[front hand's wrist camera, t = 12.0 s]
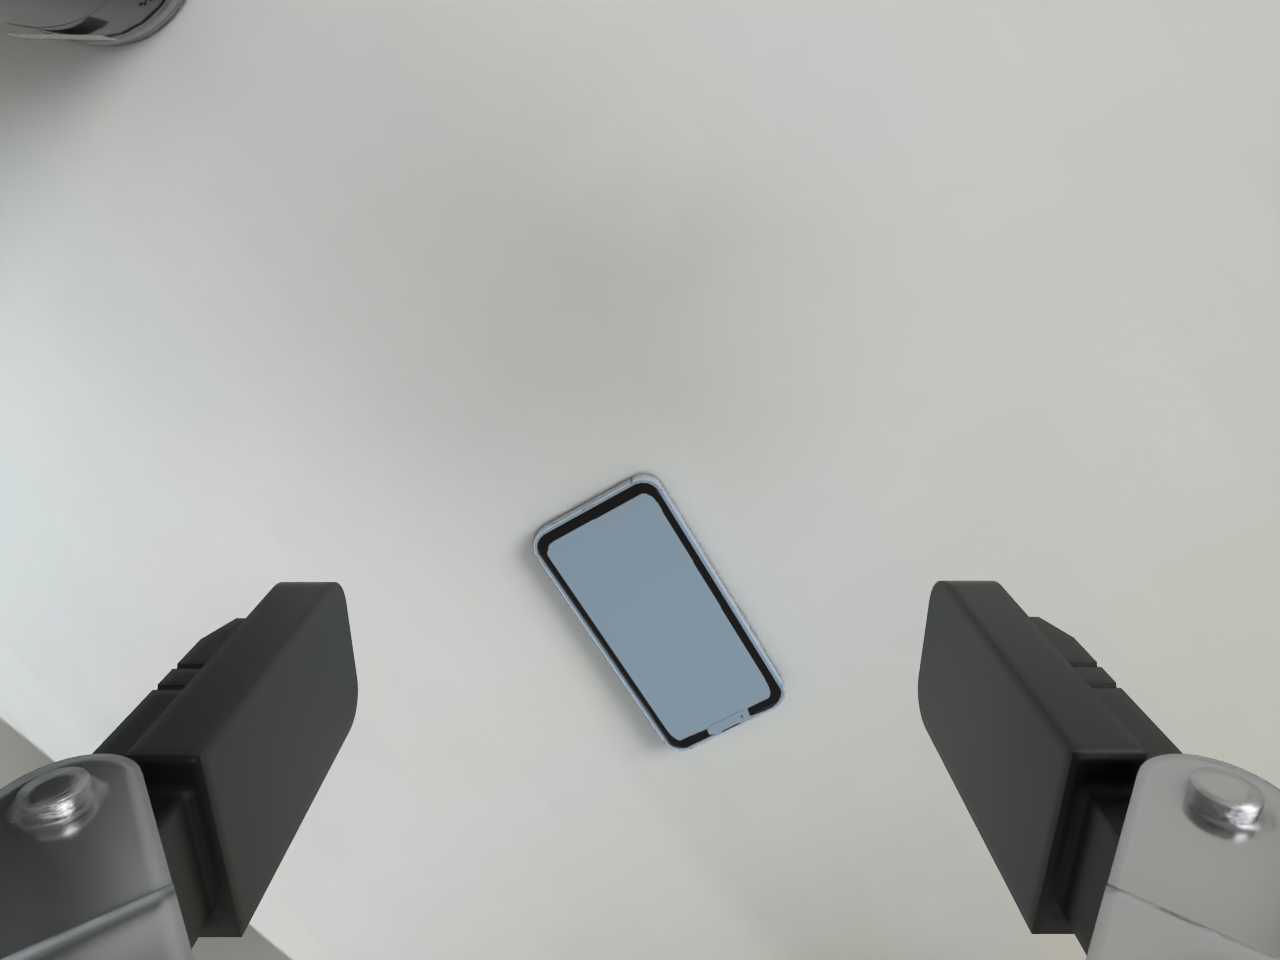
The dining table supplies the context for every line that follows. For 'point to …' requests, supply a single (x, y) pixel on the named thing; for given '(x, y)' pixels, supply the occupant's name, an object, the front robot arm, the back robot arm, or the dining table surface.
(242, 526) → the dining table surface
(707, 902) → the dining table surface
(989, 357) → the dining table surface
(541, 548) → the smartphone
